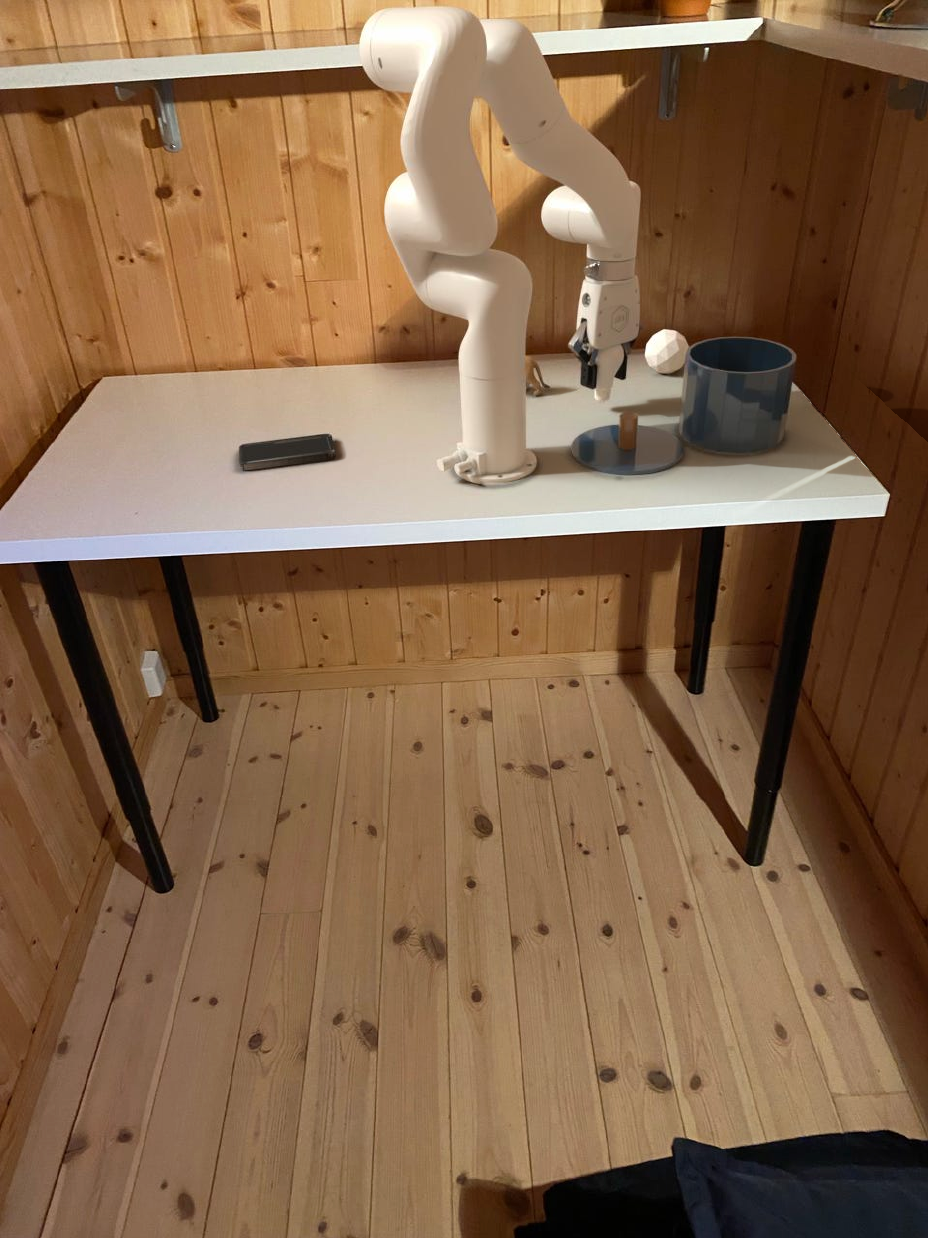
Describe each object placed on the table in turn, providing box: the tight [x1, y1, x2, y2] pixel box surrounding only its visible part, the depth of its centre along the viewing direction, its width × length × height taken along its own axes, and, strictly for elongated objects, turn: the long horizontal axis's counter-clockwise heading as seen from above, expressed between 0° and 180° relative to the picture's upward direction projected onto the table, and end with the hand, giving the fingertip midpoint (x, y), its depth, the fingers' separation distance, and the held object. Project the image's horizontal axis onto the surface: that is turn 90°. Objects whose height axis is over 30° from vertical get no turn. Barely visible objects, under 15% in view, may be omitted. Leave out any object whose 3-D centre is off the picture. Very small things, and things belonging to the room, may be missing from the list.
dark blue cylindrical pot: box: [678, 336, 797, 454], centre depth 142 cm, size 16×16×13 cm
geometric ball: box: [644, 328, 690, 375], centre depth 167 cm, size 8×8×8 cm
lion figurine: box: [525, 354, 551, 397], centre depth 162 cm, size 15×5×9 cm, turn 92°
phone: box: [238, 433, 336, 471], centre depth 147 cm, size 8×1×15 cm
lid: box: [571, 412, 684, 476], centre depth 140 cm, size 17×17×6 cm
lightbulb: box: [588, 344, 624, 404], centre depth 151 cm, size 6×6×11 cm
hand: (603, 381), depth 152 cm, fingers closed on lightbulb, 6 cm apart
